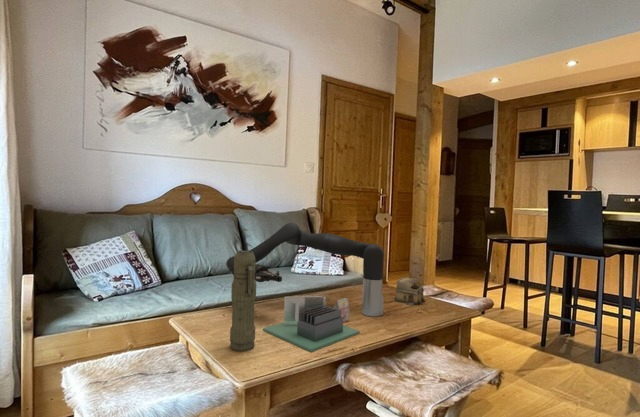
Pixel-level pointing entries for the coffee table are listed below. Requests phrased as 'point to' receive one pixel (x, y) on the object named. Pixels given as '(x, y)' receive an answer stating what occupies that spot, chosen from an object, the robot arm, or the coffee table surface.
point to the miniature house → (409, 292)
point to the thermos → (243, 302)
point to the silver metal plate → (309, 304)
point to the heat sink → (312, 327)
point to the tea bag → (343, 308)
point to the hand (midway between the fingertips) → (280, 279)
